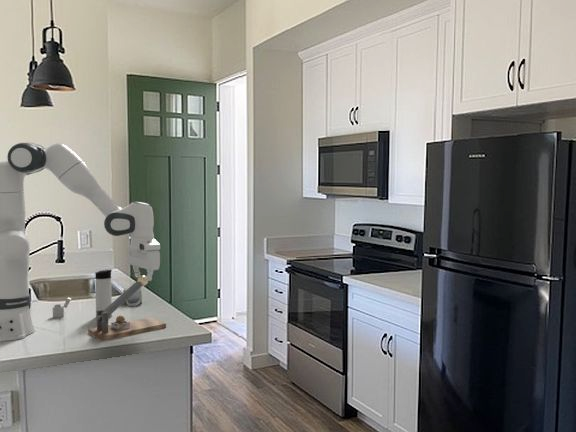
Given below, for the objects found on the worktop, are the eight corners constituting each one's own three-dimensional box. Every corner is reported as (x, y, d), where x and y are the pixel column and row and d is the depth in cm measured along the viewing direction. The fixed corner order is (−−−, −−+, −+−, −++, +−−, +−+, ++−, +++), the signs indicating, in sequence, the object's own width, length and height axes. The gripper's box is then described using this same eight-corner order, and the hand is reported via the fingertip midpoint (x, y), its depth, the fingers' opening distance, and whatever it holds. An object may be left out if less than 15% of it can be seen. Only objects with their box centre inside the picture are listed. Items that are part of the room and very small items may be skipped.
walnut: (118, 325, 197) (118, 317, 197) (114, 323, 199) (114, 315, 199) (126, 324, 199) (126, 315, 199) (122, 322, 201) (122, 314, 201)
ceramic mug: (122, 302, 246) (122, 286, 245) (141, 300, 249) (140, 284, 248) (124, 307, 236) (124, 291, 235) (143, 306, 239) (143, 289, 238)
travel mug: (107, 319, 216) (106, 271, 214) (93, 318, 217) (92, 270, 216) (115, 315, 222) (114, 268, 220) (101, 314, 223) (100, 268, 222)
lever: (104, 324, 193) (98, 316, 191) (100, 322, 196) (93, 314, 194) (151, 281, 205) (146, 274, 203) (146, 280, 208) (141, 272, 206)
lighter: (52, 317, 218) (52, 298, 217) (53, 316, 219) (52, 298, 219) (71, 316, 220) (70, 297, 219) (71, 315, 222) (71, 296, 221)
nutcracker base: (101, 340, 188) (101, 316, 187) (88, 333, 197) (87, 309, 196) (166, 327, 206) (165, 304, 205) (151, 320, 214) (151, 299, 214)
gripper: (122, 241, 209) (123, 275, 210) (147, 246, 194) (148, 283, 195) (137, 240, 213) (138, 273, 214) (162, 245, 198) (163, 281, 199)
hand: (143, 278), depth 204 cm, fingers open, 8 cm apart
